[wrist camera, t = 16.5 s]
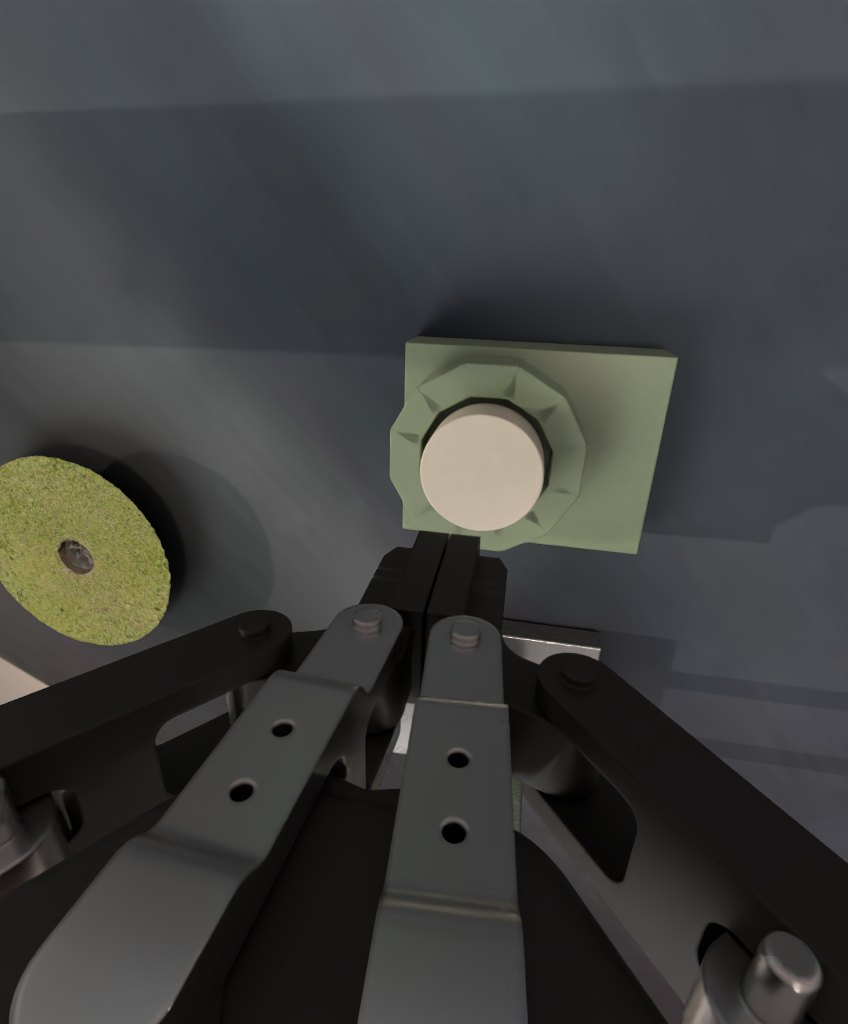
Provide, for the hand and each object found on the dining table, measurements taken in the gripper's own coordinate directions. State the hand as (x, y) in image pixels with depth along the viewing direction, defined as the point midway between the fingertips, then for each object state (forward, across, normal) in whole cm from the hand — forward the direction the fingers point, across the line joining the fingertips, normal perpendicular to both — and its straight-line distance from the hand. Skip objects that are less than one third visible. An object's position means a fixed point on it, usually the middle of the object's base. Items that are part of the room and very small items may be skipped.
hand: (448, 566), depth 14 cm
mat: (+12, +21, +8) cm, 26 cm away
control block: (+12, -2, 0) cm, 12 cm away
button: (+8, 0, 0) cm, 8 cm away
